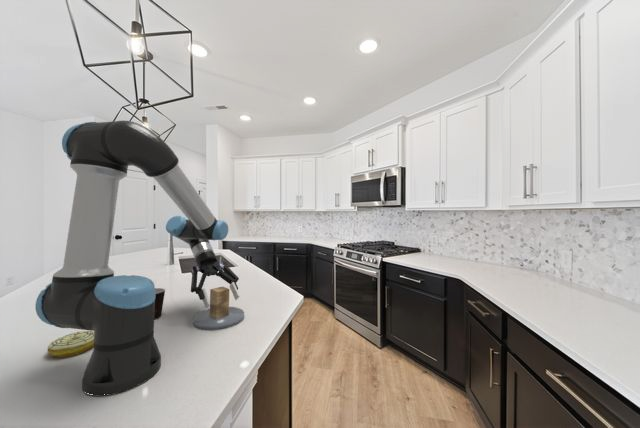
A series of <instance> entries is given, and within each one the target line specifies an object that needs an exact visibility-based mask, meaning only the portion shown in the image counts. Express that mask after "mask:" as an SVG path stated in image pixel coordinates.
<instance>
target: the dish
mask: <svg viewBox="0 0 640 428" xmlns="http://www.w3.org/2000/svg"><path fill="white" fill-rule="evenodd" d="M244 319H245V311H244V310H243V309H241V308H239V307H235V306H229V315H228V316H225V317H222V318H219V319H215V318H213V317H211V316H210V308H207V309H205V310H202V311H200V312H198V313H197V314H196V315H194V316H193V318H192V325H193V327H194V328H196V329H199V330H202V331H219V330H224V329H228V328H231V327H234V326H237V325H238V324H240V323H241V322H242V321H243V320H244Z"/></svg>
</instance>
